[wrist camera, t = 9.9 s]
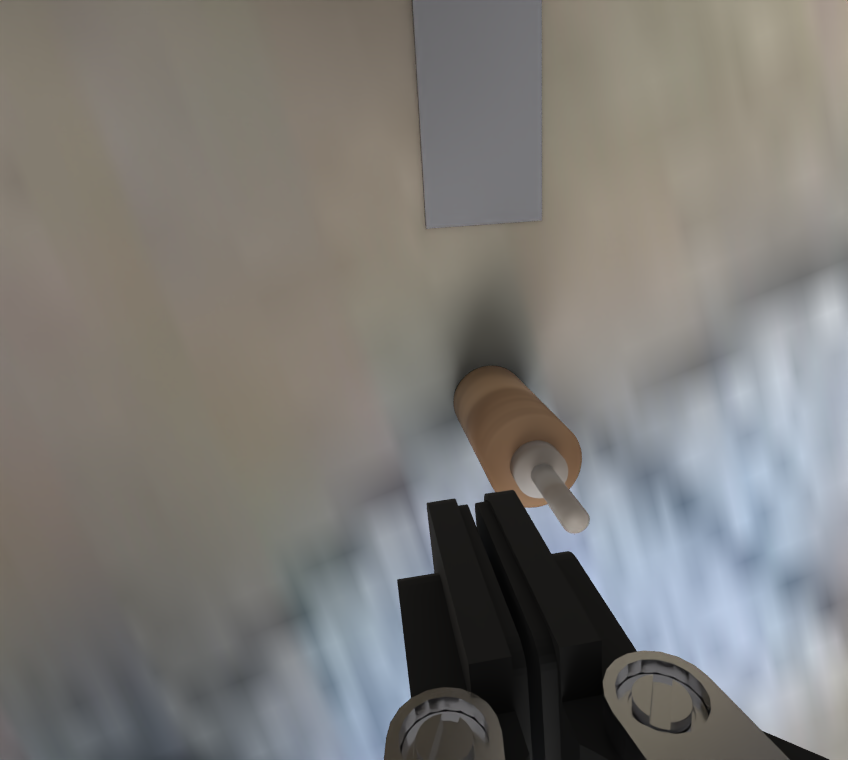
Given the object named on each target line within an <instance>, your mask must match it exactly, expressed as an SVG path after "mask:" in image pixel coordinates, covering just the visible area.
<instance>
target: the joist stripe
mask: <svg viewBox="0 0 848 760" xmlns="http://www.w3.org/2000/svg"><path fill="white" fill-rule="evenodd" d="M412 6H413V23H414V39H415V56H416V72H417V89H418V105H419V122H420V138H421V155H422V171H423V188H424V204H425V221H426V229H428V228H442V227H456V226H471V225H485V224H499V223H514V222H528V221H542V0H412Z"/></svg>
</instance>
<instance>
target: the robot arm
mask: <svg viewBox="0 0 848 760" xmlns="http://www.w3.org/2000/svg"><path fill="white" fill-rule="evenodd" d="M427 512H428V521H429V530H430V538H431V547H432V555H433V564H434V574H428V575H422V576H416V577H410V578H404V579H398V580H397V581H398V590H399V599H400V607H401V616H402V625H403V633H404V642H405V650H406V659H407V667H408V676H409V684H410V693H411V699H410V700H409V701H407V702H406V703H405V704H404V705H403V706H402V707H401V708H399V710H398V711H397V713H396V715H395V716H394V718H393V719H392V721H391V722H390V726H389V730H388V733H387V737H386V745H385V755H384V760H829V759H827V758H825V757H822V756H820V755H818V754H815V753H813V752H810V751H808V750H806V749H803V748H801V747H799V746H796V745H794V744H792V743H789V742H787V741H785V740H782V739H780V738H778V737H775V736H773V735H771V734H768V733H766V732H764V731H761V730H760V729H759V728H758V727H757V726H756V725H755V723H754V722H753V721H752V720H751V719H750V718H749V717H748V716H747V715H746V714H745V713H744V712H743V711H742V710H741V709H740V708H739V707H738V706H737V705H736V704H735V703H734V702H733V701H732V700H731V699H730V698H729V697H728V696H727V695H726V694H725V693H724V692H723V691H722V690H721V689H720V688H719V687H718V686H717V685H716V684H715V683H714V682H713V681H712V680H711V679H710V678H709V677H708V676H707V675H706V674H705V673H703V672H702V671H701V670H700V669H698V668H697V667H696V666H695V665H693V664H691V663H689V662H687V661H685V660H683V659H681V658H679V657H677V656H673V655H670V654H666V653H663V652H655V651H638V652H637V651H636V649H635V648H634V646H633V645H632V643H631V642H630V640H629V638H628V637H627V635H626V634H625V632H624V631H623V629H622V628H621V626H620V625H619V623H618V621H617V620H616V618H615V617H614V615H613V614H612V612H611V611H610V609H609V608H608V606H607V605H606V603H605V601H604V600H603V598H602V597H601V595H600V594H599V592H598V591H597V589H596V588H595V586H594V584H593V583H592V581H591V580H590V578H589V577H588V575H587V574H586V572H585V571H584V569H583V567H582V566H581V564H580V563H579V561H578V560H577V558H576V557H575V556H574V554H573V553H572V552H569V551H567V552H561V553H555V554H551V552H550V551H549V549H548V547H547V546H546V544H545V542H544V540H543V539H542V537H541V535H540V534H539V532H538V530H537V528H536V527H535V525H534V523H533V521H532V520H531V518H530V516H529V515H528V513H527V511H526V509H525V508H524V506H523V504H522V503H521V501H520V499H519V497H518V496H517V494H516V492H515V491H514V490H507V491H501V492H494V493H488V494H485V496H484V502H479V503H476V504H475V514H476V525H477V527H476V525H475V522H474V520H473V517H472V515H471V512H470V509H469V507H468V505H467V504H466V505H460V506H458V505H457V502H456V499H449V500H442V501H436V502H430V503H427Z"/></svg>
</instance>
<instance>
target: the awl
mask: <svg viewBox="0 0 848 760" xmlns="http://www.w3.org/2000/svg"><path fill="white" fill-rule="evenodd" d="M454 410H455V413H456V416H457V418H458V420H459V422H460V424H461V426H462V428H463V430H464V432H465V434H466V436H467V438H468V440H469V442H470V444H471V446H472V448H473V450H474V452H475V454H476V456H477V458H478V460H479V462H480V464H481V466H482V468H483V470H484V472H485V474H486V476H487V478H488V480H489V482H490V484H491V485H492V487H493V489H494V491H495V492H501V491H507V490H514V491H515V492H516V494H517V496H518V497H519V499H520V501H521V503H522V504H523V506H524V507H528V508H530V507H539V506H543V505H547V504H548V505H549V507H550V508H551V510H552V511H553V513H554V514H555V516H556V517H557V519H558V520H559V522H560V523H561V525H562V526H563V528H564V529H565V530H566V531H567V532H569V533H573V534H575V533H580V532H582V531H583V530H585V529H586V528H587V526H588V524H589V521H590V518H589V515H588V513H587V512H586V510H585V509H584V508H583V507H582V505H581V504H580V503H579V501H578V500H577V499H576V498H575V496H574V495H573V494H572V492H571V491H570V490H569V489H570V488H571V487H572V485H573V484H574V482H575V481H576V479H577V477H578V474H579V472H580V468H581V462H582V453H581V448H580V445H579V442H578V440H577V438H576V437H575V435H574V434H573V433H572V432H571V431H570V430H569V429H568V428H567V427H566V426H565V425H564V424H563V423H562V422H561V421H560V420H559V419H558V418H557V417H556V416H555V415H554V414H553V413H552V412H551V411H550V410H549V409H548V408H547V407H546V406H545V405H544V404H543V403H542V402H541V401H540V400H539V399H538V398H537V397H536V396H535V395H534V394H533V393H532V392H531V391H530V390H529V389H528V388H527V387H526V386H525V385H524V384H523V383H522V382H521V381H520V380H519V379H518V378H517V377H516V376H515V375H514V374H513V373H512V372H511V371H509V370H507V369H505V368H503V367H499V366H483V367H480V368H477V369H475V370H473V371H471V372H470V373H468V374H467V375H466V376H465V377H464V378H463V379H462V380H461V382H460V383H459V385H458V386H457V389H456V391H455V394H454Z"/></svg>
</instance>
